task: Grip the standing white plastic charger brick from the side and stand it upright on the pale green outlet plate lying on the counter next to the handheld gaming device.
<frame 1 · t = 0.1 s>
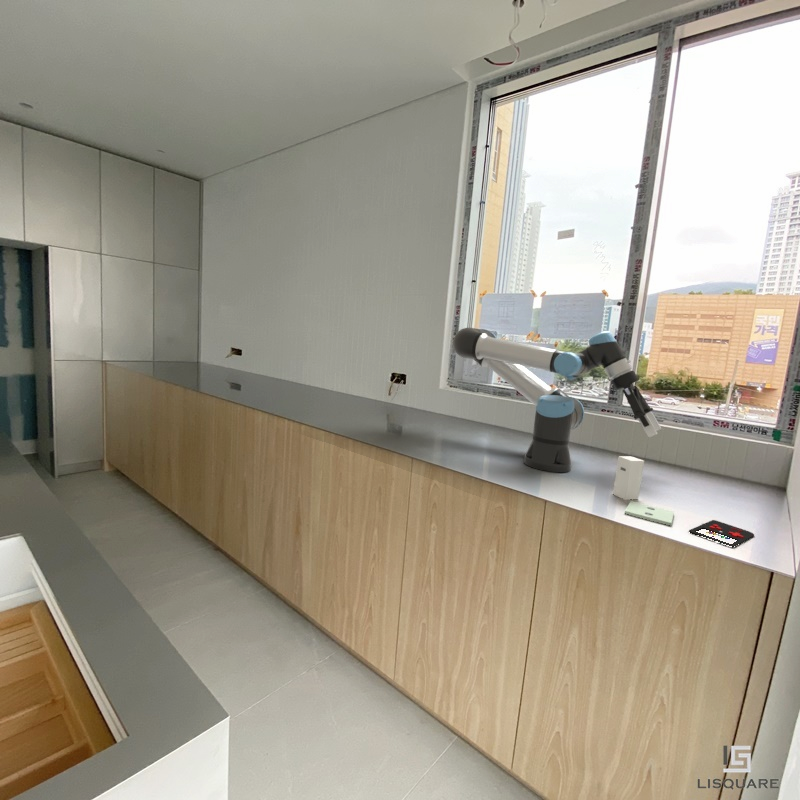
hand: (655, 433, 144), 15 cm above the worktop, tool tilted 35°, fingers open, 13 cm apart
charger: (625, 496, 125), on the worktop
handheld gaming device: (721, 536, 104), on the worktop
outlet plate: (649, 514, 113), on the worktop
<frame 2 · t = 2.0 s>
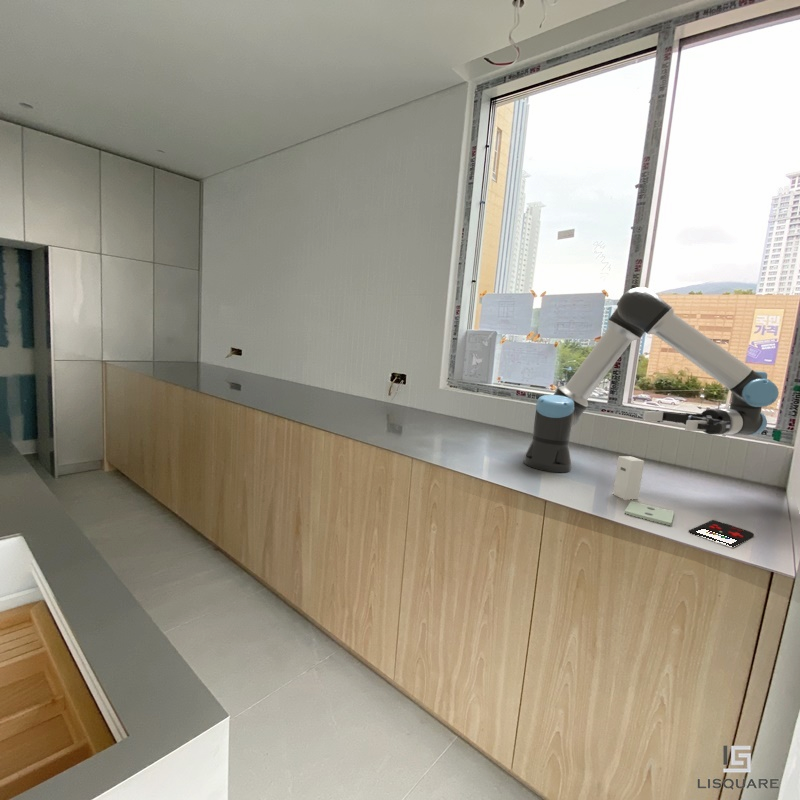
hand: (664, 420, 125), 22 cm above the worktop, tool horizontal, fingers open, 13 cm apart
nothing on the worktop moved.
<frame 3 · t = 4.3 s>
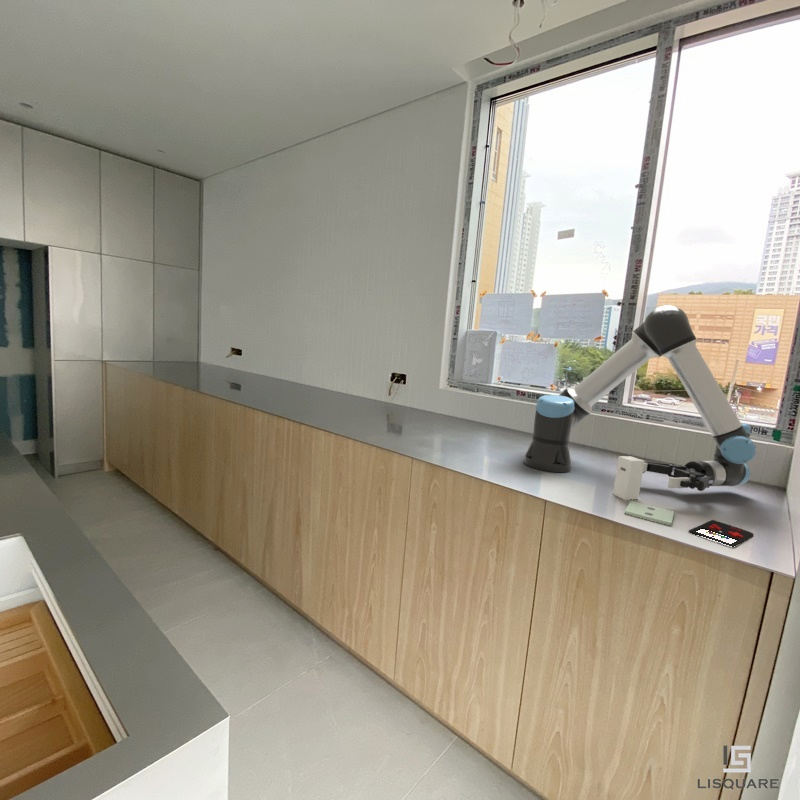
hand: (648, 475, 126), 6 cm above the worktop, tool horizontal, fingers open, 13 cm apart
nothing on the worktop moved.
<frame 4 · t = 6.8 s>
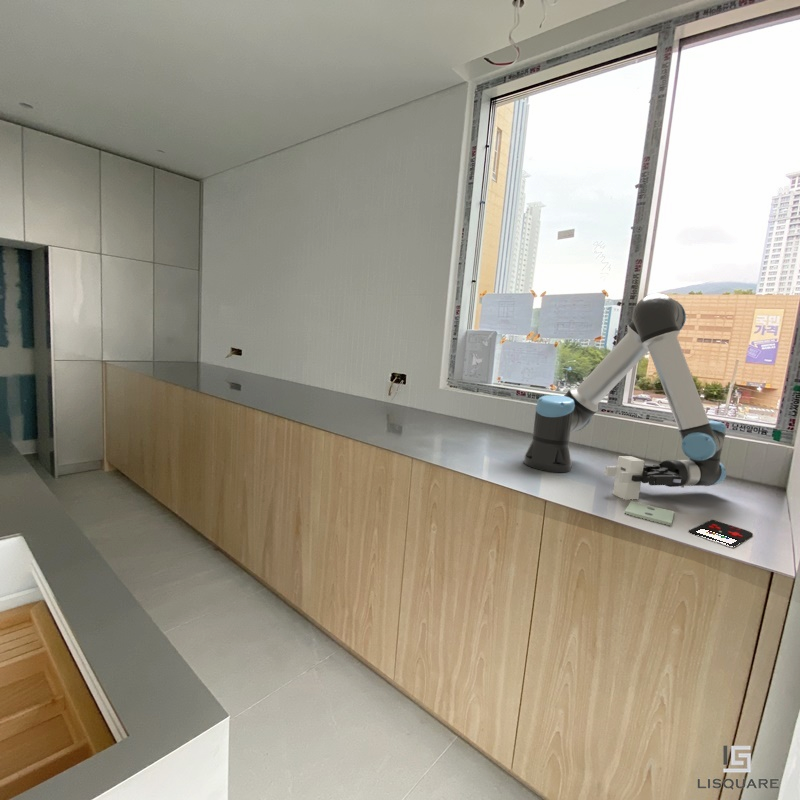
hand: (613, 474, 122), 7 cm above the worktop, tool horizontal, fingers closed on charger, 4 cm apart
charger: (625, 496, 125), on the worktop, touching gripper
everything else where it was.
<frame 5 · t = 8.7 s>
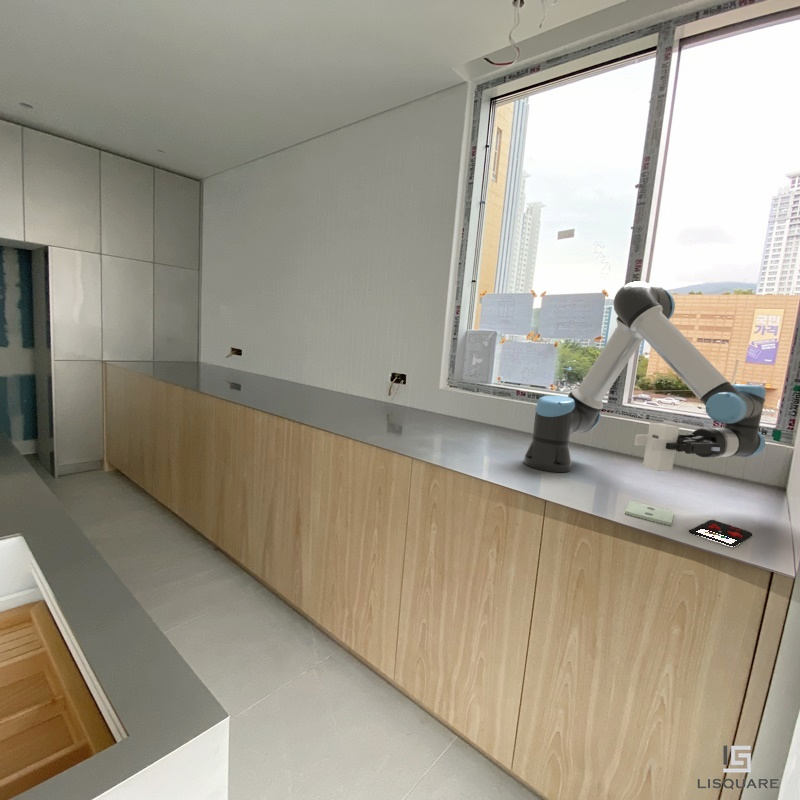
hand: (645, 442, 109), 18 cm above the worktop, tool horizontal, fingers closed on charger, 4 cm apart
charger: (657, 468, 112), point 12 cm above the worktop, touching gripper
everything else where it was.
when the fingers open (9 cm above the worktop, at t = 10.8 s): charger drops 1 cm, resting on outlet plate.
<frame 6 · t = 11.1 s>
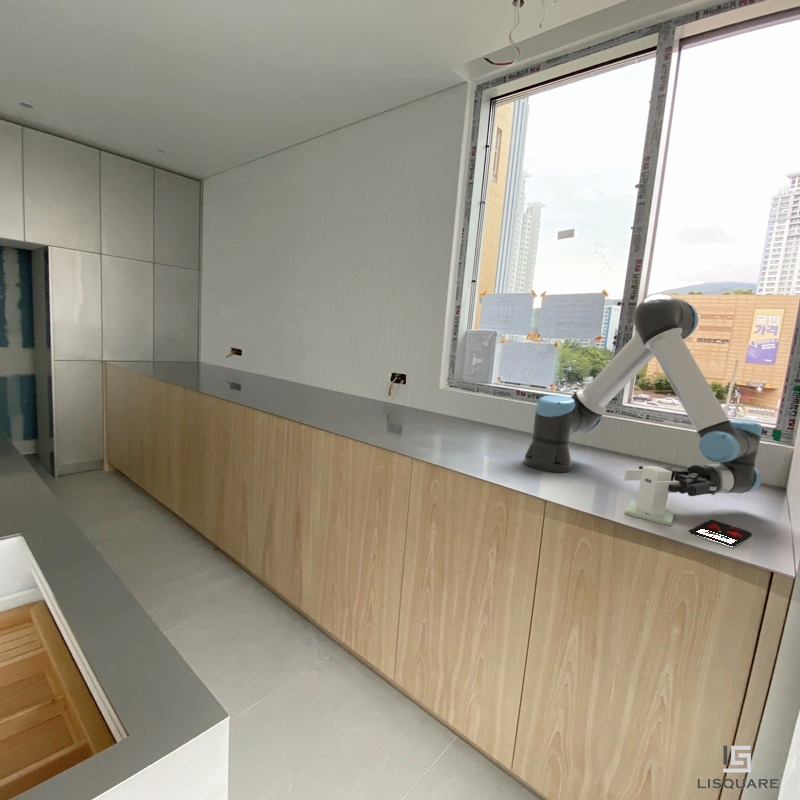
hand: (640, 480, 110), 9 cm above the worktop, tool horizontal, fingers open, 8 cm apart
charger: (650, 511, 112), point 1 cm above the worktop, touching outlet plate
everything else where it was.
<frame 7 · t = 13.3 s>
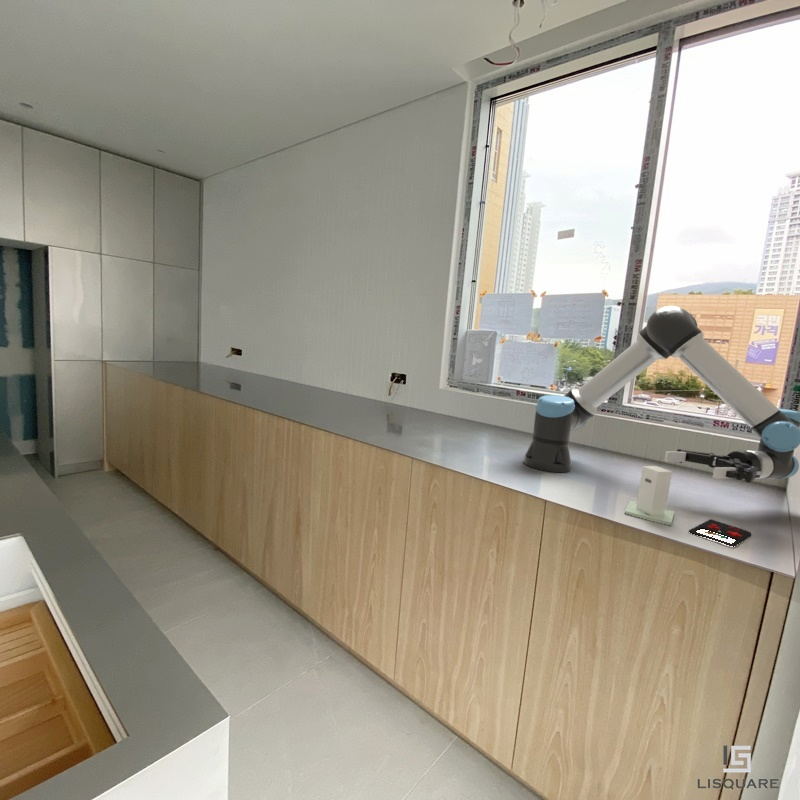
hand: (688, 464, 115), 13 cm above the worktop, tool horizontal, fingers open, 13 cm apart
nothing on the worktop moved.
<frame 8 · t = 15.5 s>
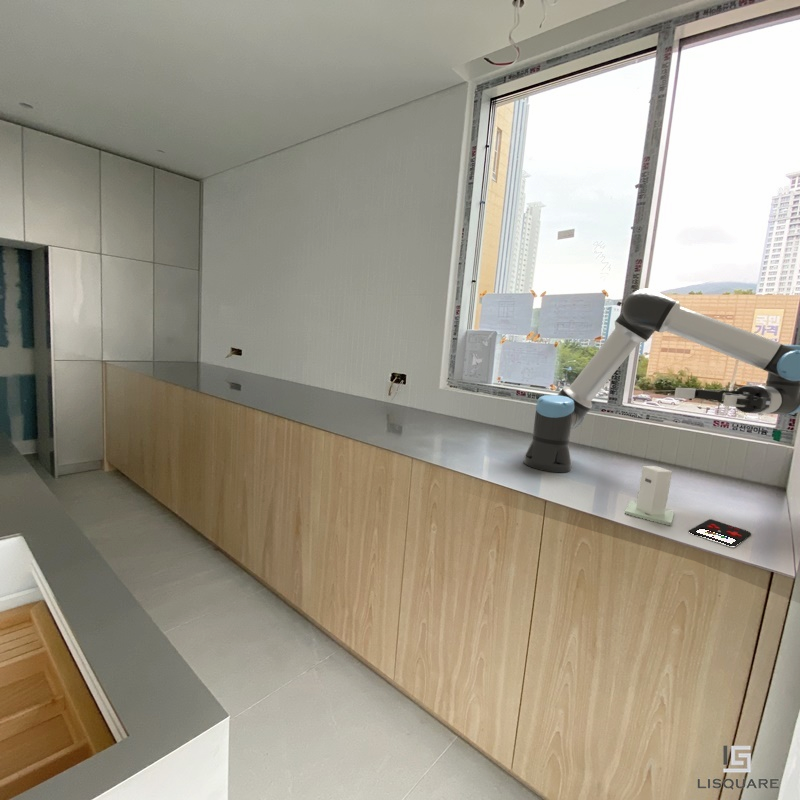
hand: (699, 396, 117), 30 cm above the worktop, tool horizontal, fingers open, 13 cm apart
nothing on the worktop moved.
at the end: charger inside the target area on the outlet plate (0.1 cm from its centre), point 0.8 cm above the outlet plate's base; charger tilted 0°; the gripper is holding nothing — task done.
